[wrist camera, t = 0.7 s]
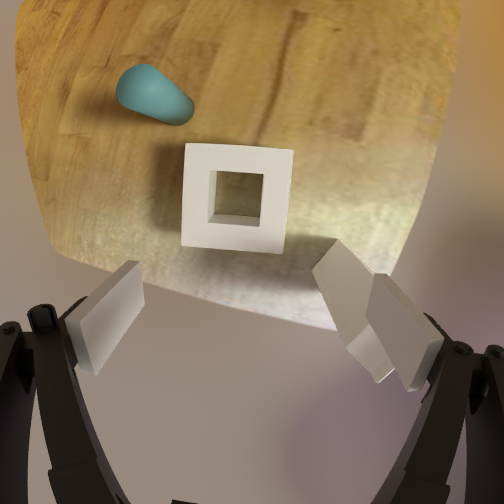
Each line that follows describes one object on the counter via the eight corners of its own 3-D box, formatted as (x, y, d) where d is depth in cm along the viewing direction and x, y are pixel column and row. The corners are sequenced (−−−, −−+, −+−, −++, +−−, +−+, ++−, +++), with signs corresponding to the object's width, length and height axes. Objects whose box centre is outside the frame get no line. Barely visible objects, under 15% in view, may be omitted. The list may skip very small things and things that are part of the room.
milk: (310, 270, 41) (351, 371, 20) (338, 237, 40) (408, 314, 19) (340, 293, 42) (394, 396, 21) (367, 262, 41) (444, 348, 19)
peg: (164, 94, 34) (119, 66, 21) (195, 94, 34) (164, 61, 21) (160, 125, 35) (113, 110, 22) (192, 125, 35) (158, 107, 22)
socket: (196, 145, 36) (185, 143, 31) (288, 152, 36) (293, 150, 31) (192, 233, 40) (181, 245, 34) (279, 240, 40) (282, 254, 34)
